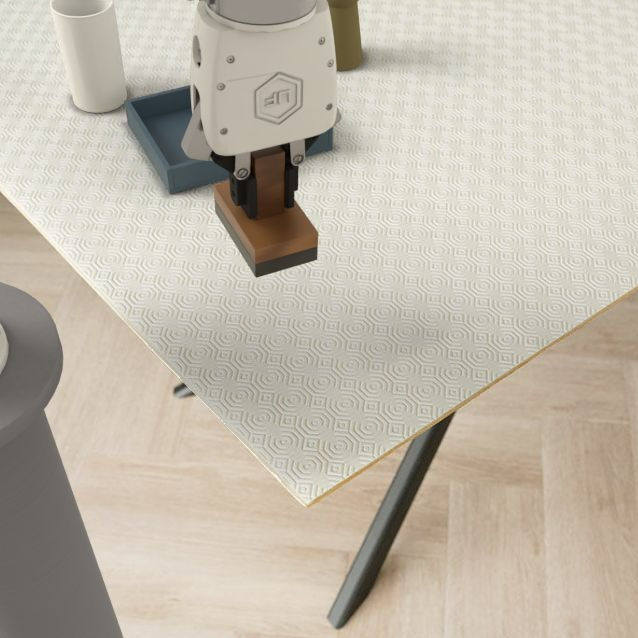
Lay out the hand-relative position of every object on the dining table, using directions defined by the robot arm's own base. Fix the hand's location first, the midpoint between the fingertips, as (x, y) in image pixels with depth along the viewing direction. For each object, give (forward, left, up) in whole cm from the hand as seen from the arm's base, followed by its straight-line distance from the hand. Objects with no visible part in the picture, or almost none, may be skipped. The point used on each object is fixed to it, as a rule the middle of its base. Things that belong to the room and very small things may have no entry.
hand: (264, 201), depth 74 cm
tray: (+8, +28, -14) cm, 32 cm away
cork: (+27, +38, -14) cm, 49 cm away
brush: (0, 0, -4) cm, 4 cm away
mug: (-4, +43, -14) cm, 46 cm away
